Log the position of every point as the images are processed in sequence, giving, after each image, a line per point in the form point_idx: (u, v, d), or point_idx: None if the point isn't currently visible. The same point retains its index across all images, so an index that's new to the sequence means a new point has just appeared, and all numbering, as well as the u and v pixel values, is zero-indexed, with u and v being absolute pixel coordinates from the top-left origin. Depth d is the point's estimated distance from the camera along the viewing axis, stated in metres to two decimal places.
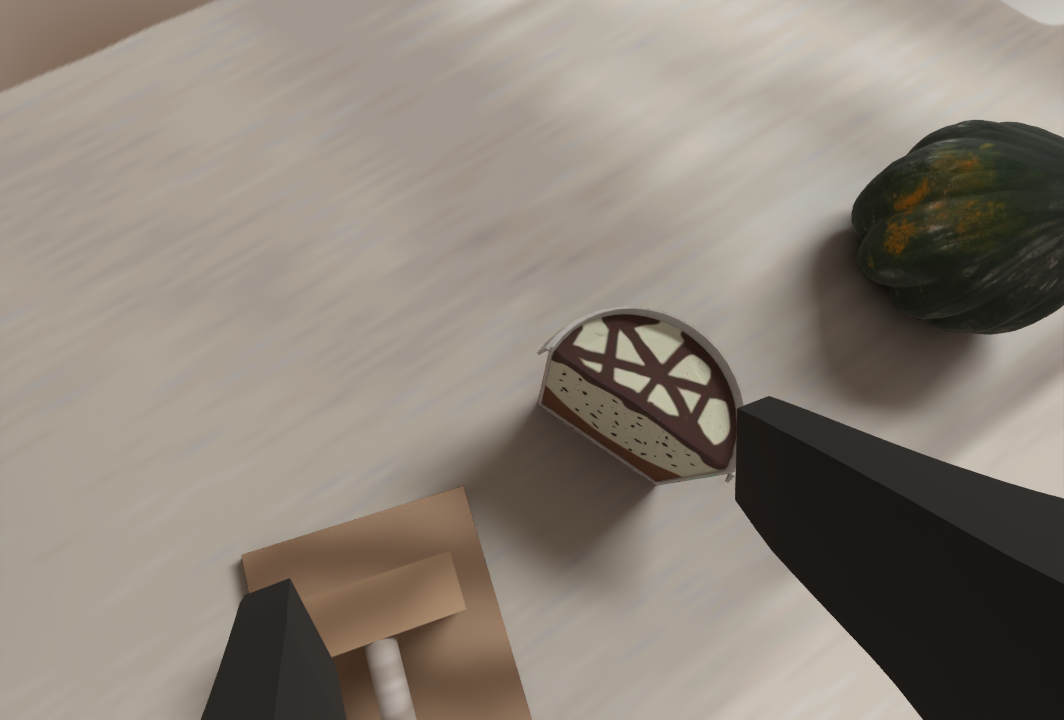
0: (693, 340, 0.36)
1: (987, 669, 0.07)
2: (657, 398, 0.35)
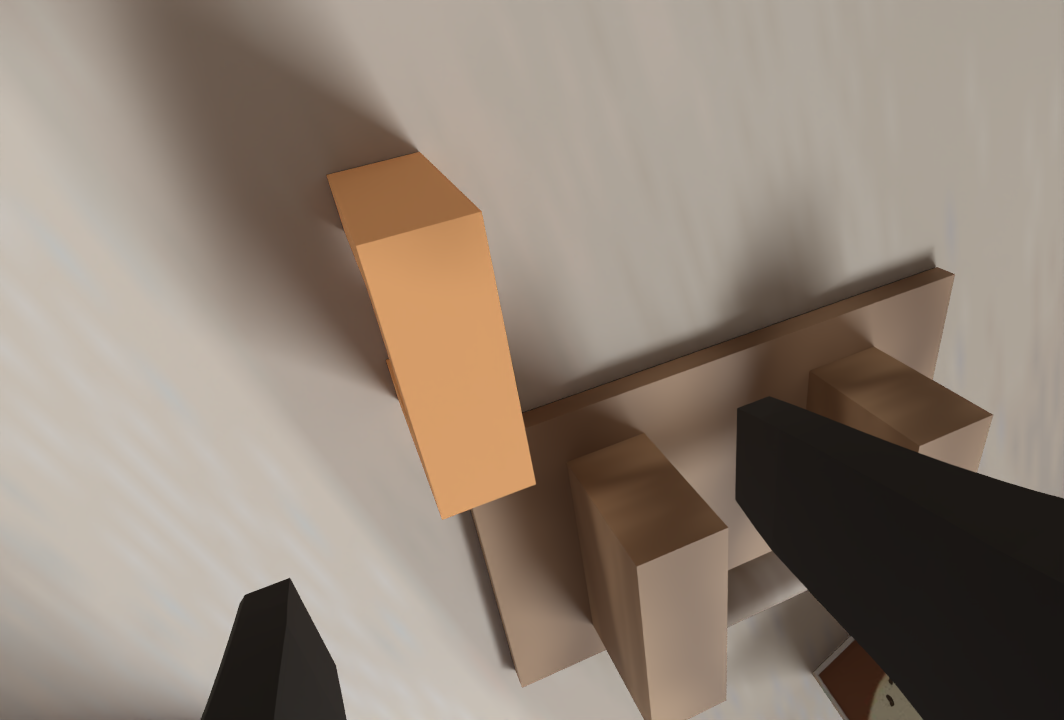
0: None
1: (987, 669, 0.07)
2: None
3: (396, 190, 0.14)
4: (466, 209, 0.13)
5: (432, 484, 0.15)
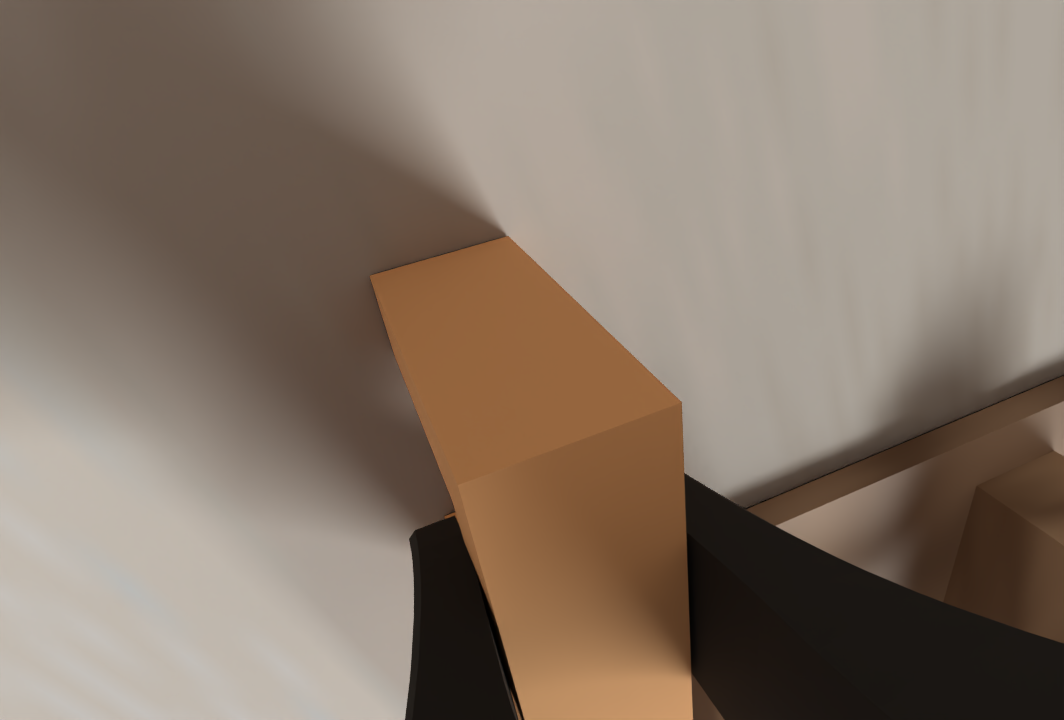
0: None
1: None
2: None
3: (495, 324, 0.09)
4: (647, 392, 0.07)
5: None
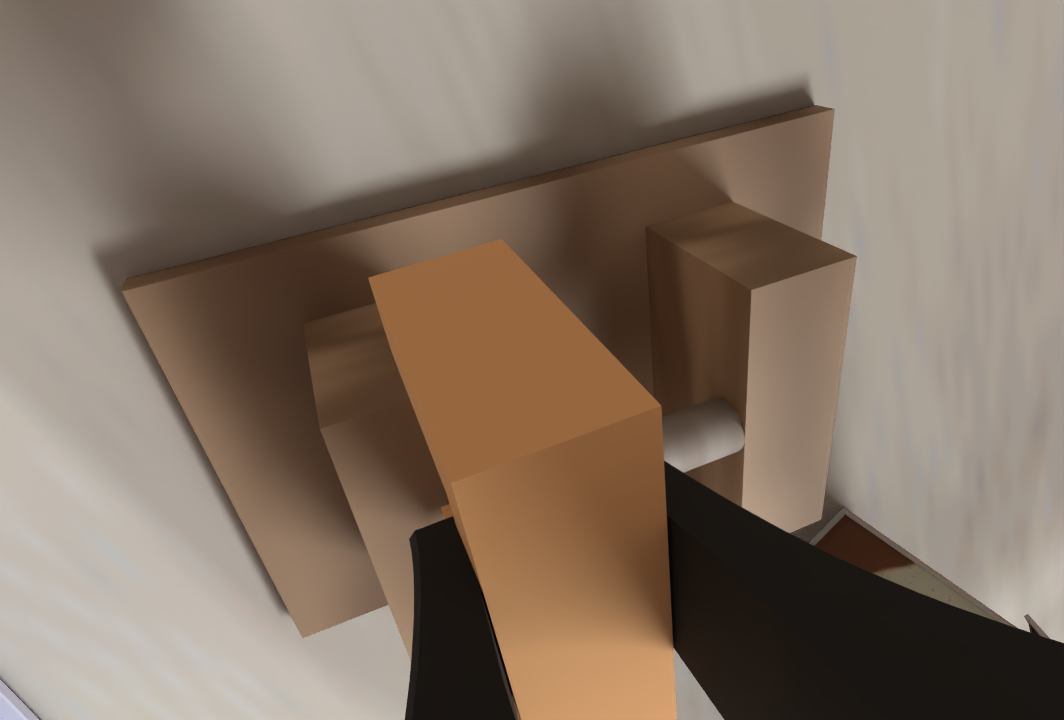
0: None
1: None
2: None
3: (487, 328, 0.09)
4: (630, 395, 0.07)
5: None
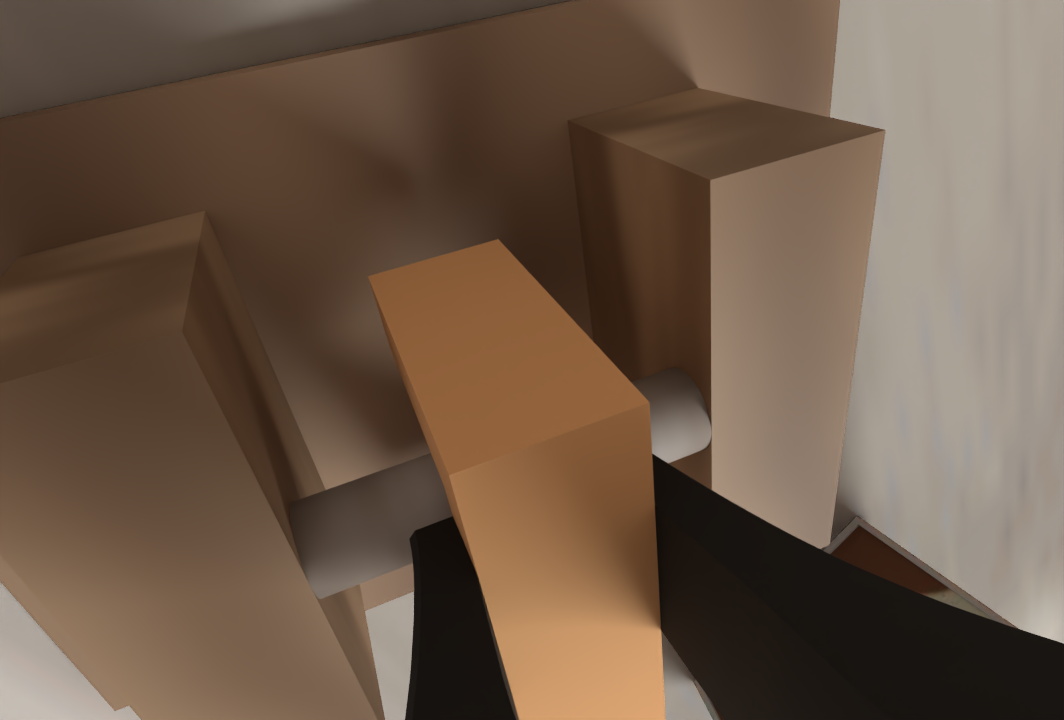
0: None
1: None
2: None
3: (484, 326, 0.09)
4: (619, 392, 0.08)
5: None
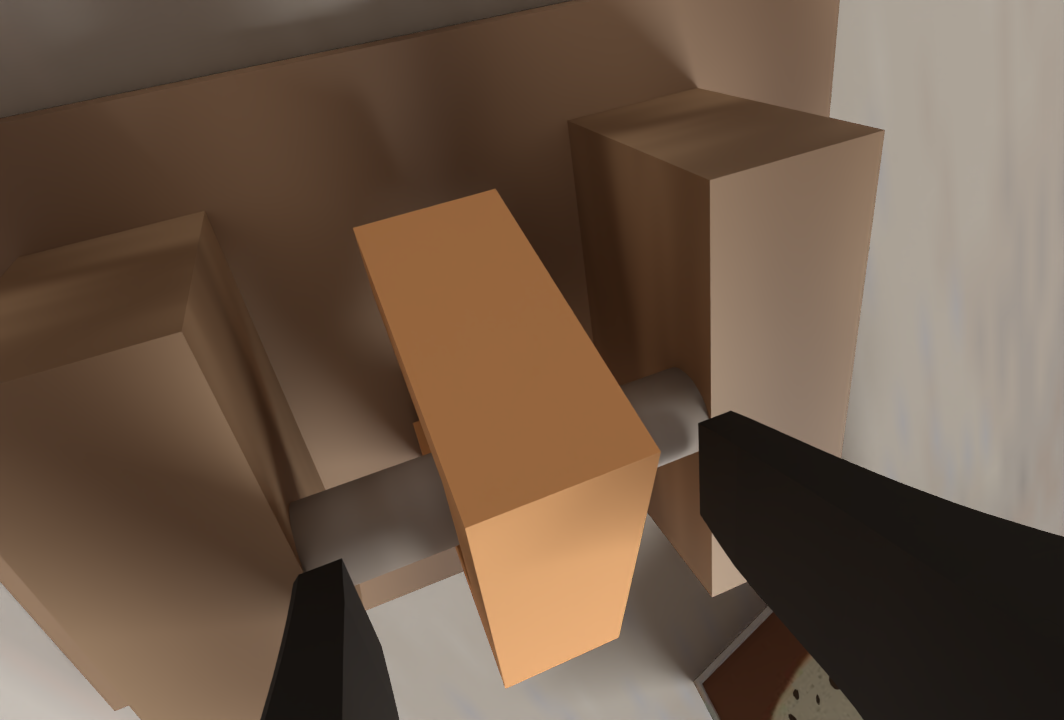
0: None
1: (937, 696, 0.07)
2: None
3: (488, 323, 0.09)
4: (631, 435, 0.08)
5: (503, 672, 0.12)
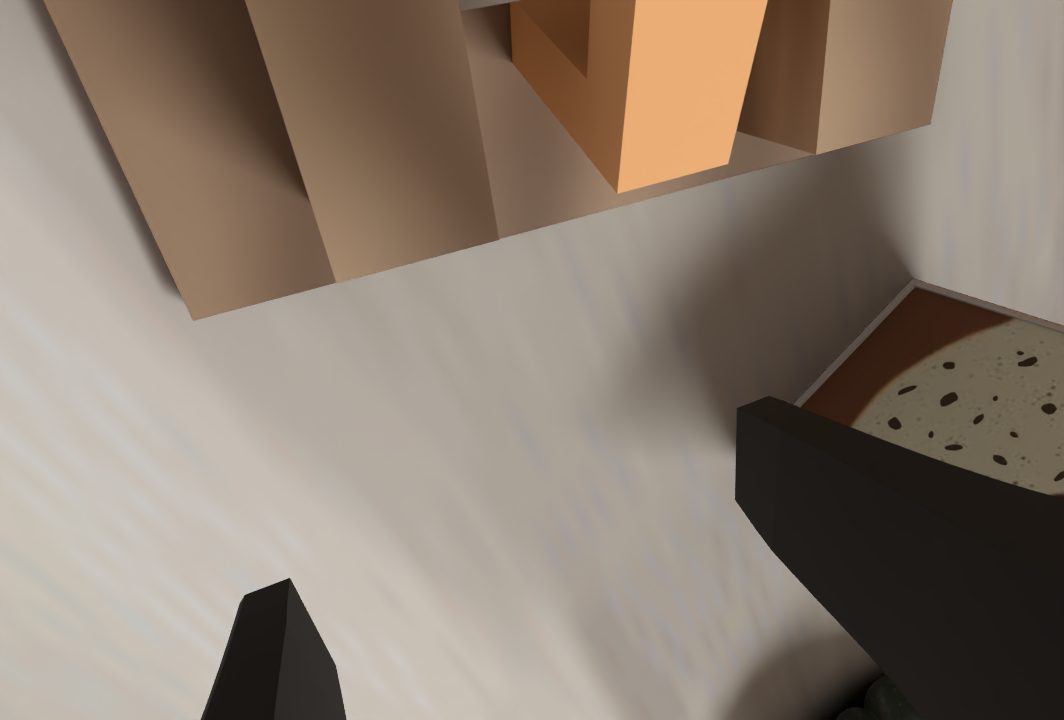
0: None
1: (987, 669, 0.07)
2: None
3: None
4: None
5: (624, 139, 0.11)
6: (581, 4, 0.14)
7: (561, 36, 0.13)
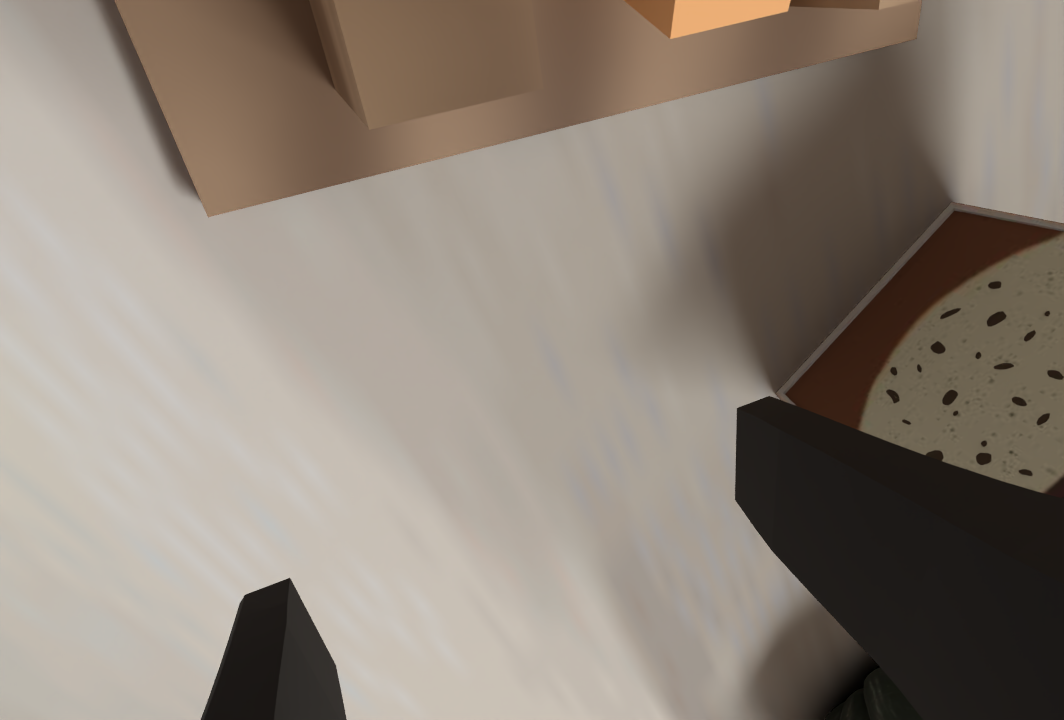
0: None
1: (987, 669, 0.07)
2: None
3: None
4: None
5: None
6: None
7: None
